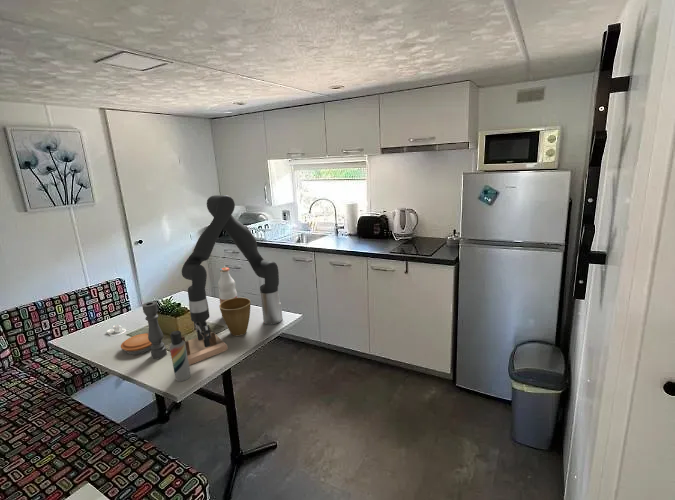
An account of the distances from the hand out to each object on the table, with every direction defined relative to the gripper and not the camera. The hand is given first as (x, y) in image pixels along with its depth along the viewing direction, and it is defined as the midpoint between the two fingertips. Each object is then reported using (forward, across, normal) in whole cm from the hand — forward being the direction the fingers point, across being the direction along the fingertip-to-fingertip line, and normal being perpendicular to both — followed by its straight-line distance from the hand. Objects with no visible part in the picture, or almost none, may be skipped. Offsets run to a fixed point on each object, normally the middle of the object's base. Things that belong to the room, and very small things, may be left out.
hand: (204, 343), depth 158 cm
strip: (+7, 0, 0) cm, 7 cm away
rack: (+6, +12, 0) cm, 14 cm away
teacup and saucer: (+7, +61, +26) cm, 67 cm away
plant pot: (+6, +11, -20) cm, 24 cm away
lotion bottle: (+7, -10, +13) cm, 18 cm away
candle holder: (+7, +16, +16) cm, 23 cm away
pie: (+7, +30, +21) cm, 37 cm away
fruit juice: (+6, +33, -25) cm, 42 cm away
